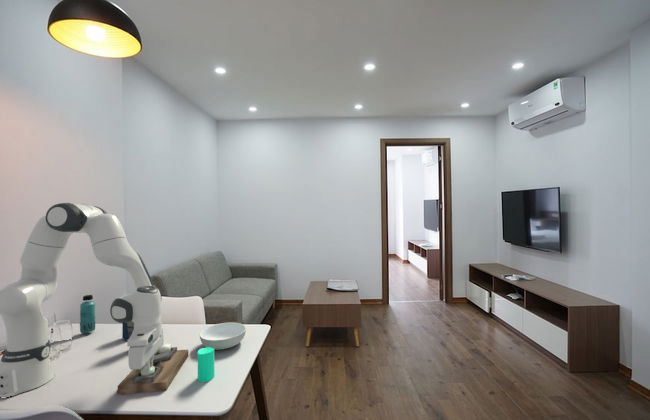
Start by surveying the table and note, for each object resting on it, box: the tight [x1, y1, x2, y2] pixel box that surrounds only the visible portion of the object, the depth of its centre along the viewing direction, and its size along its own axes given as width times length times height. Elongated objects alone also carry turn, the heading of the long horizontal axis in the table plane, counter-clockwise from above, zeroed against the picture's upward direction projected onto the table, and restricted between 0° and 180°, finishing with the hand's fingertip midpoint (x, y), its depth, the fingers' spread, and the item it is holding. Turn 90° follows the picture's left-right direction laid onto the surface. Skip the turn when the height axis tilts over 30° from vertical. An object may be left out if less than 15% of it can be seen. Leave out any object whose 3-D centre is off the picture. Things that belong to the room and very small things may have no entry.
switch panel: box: [117, 346, 189, 395], centre depth 117 cm, size 16×25×5 cm, turn 8°
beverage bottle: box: [79, 294, 97, 334], centre depth 156 cm, size 6×7×20 cm
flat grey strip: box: [153, 351, 172, 363], centre depth 117 cm, size 10×4×1 cm, turn 98°
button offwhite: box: [159, 342, 172, 354], centre depth 125 cm, size 4×4×2 cm
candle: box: [197, 347, 215, 383], centre depth 114 cm, size 6×6×12 cm
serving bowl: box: [199, 322, 247, 350], centre depth 142 cm, size 21×21×7 cm
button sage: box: [141, 366, 155, 376], centre depth 110 cm, size 4×4×2 cm
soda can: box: [121, 322, 129, 341], centre depth 150 cm, size 7×7×12 cm
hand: (148, 368), depth 110 cm, fingers closed, pressing on button sage
